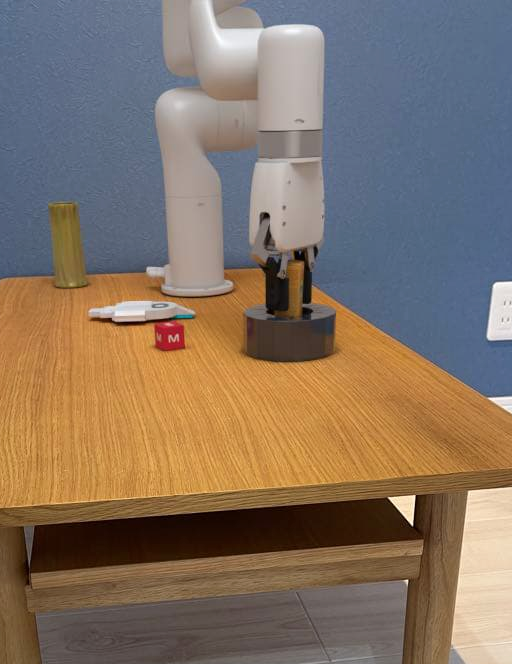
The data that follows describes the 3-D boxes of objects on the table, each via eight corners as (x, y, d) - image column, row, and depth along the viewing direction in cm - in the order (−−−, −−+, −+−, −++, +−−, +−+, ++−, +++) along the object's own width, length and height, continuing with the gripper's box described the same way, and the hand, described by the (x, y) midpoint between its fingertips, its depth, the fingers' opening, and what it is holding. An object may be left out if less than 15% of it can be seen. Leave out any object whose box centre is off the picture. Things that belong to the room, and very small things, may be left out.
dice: (185, 348, 113) (183, 325, 112) (164, 351, 112) (162, 328, 110) (176, 343, 115) (174, 321, 114) (155, 346, 114) (154, 323, 113)
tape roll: (236, 360, 106) (235, 320, 104) (253, 338, 117) (252, 301, 114) (329, 363, 104) (330, 321, 102) (338, 340, 114) (339, 302, 112)
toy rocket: (84, 326, 126) (83, 310, 125) (96, 313, 135) (94, 298, 134) (192, 324, 125) (192, 308, 124) (197, 311, 134) (196, 296, 133)
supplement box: (300, 345, 108) (301, 263, 104) (273, 344, 109) (273, 263, 105) (303, 338, 111) (304, 259, 107) (277, 338, 112) (277, 258, 107)
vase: (95, 283, 159) (87, 201, 152) (72, 289, 154) (63, 205, 148) (70, 281, 162) (61, 201, 155) (47, 286, 157) (38, 204, 151)
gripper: (304, 144, 108) (301, 292, 116) (219, 151, 96) (224, 315, 105) (355, 144, 104) (349, 298, 112) (273, 152, 92) (273, 322, 100)
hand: (288, 304), depth 108 cm, fingers closed on supplement box, 4 cm apart
